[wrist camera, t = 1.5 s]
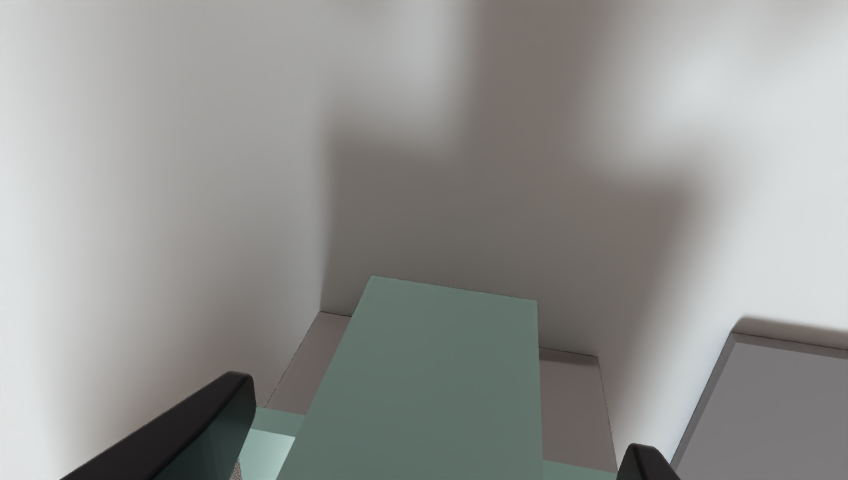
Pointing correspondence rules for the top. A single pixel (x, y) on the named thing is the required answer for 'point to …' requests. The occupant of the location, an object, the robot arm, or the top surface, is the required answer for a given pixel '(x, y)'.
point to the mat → (769, 414)
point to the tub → (559, 390)
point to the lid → (419, 396)
